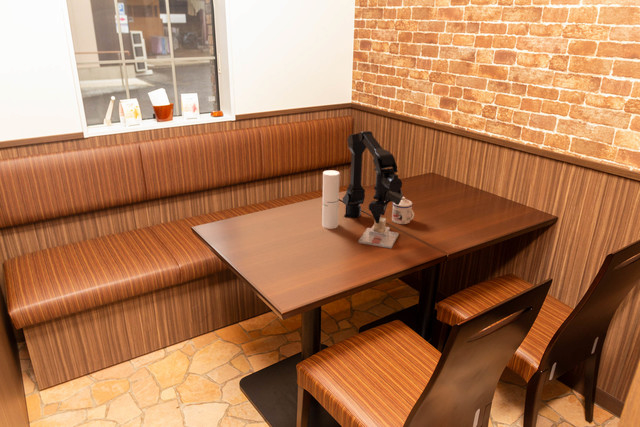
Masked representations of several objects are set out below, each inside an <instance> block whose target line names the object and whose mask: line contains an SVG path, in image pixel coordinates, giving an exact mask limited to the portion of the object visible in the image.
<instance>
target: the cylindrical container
mask: <svg viewBox="0 0 640 427" xmlns="http://www.w3.org/2000/svg"><path fill="white" fill-rule="evenodd" d="M340 175H341V174H340V172H339V171H337V170H335V169H334V170H331V169H330V170H329V169H328V170H324V171H323V172H322V209H321V210H322V211H321V212H322V213H321V215H322V216H321V217H322V218H321V219H322V220H321V225H322V227H323V228H324V229H328V230H329V229H330V230H332V229H336V228H338V226H339V204H340V202H339V201H340V198H339V196H340Z"/></svg>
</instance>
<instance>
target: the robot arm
mask: <svg viewBox="0 0 640 427" xmlns="http://www.w3.org/2000/svg"><path fill="white" fill-rule="evenodd" d="M346 142H347V147H348V149H349V151H350V153H351V158H350V159H351V161H350V183H349V185H348V186H347V188H346V192H345V195H344V196H343V197H342V203H343V204H344V205H345V214H344V217H345V218H351V219H358V218H359V217H360V216H361V214H362V206H361V205H363V204H364V201H365V198H366V194H365V193H366V190H365V188H364V187H363V186H362V172H363V169H362V167H363V154H364V152H365V150H366V149H367V150H368V151H369V153H370V154H371V156H372V158H373V160H372V162H373V165H374V167H375V168H374V169H373V170H374V171H375V172H376V175H375V186H374V188H373V190H374V196H373V200H372V201H370V202H369V204H368V210H369V211H370V213H371V214H372V217H373V220H375V222H376V223H379V221H380V217H381V216H385V214H386V210H387V208H388V204H390V203H392V204H393V203H395V204H396V205H399V203H400V201H401V199H402V198H403V197H404V194H403V191H402V190H403V189H402V187H403V181H402V180H401V178H399V174H397V173H398V171H399V170H398V168H399V167H398V165H397V163H396V158H395V156H394V155H393V154H392V153H391V151H389V150H386V149H384V148H383V147H382V146H381V144H380V143H379V142H378V140H377V139H376V138H375V136H374V135H373V132H372V131H370V130H366V131H365V130H363V131H360V132H358V133H352V134H351V133H350V134H349V135H348V137H347V140H346ZM381 218H382V217H381Z"/></svg>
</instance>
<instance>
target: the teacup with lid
mask: <svg viewBox="0 0 640 427" xmlns="http://www.w3.org/2000/svg"><path fill="white" fill-rule="evenodd" d="M412 208H413V201H411V200H410V199H408V198H407V199H406V197H405V196H403V198H402V199H401V201H400V203H399V205H396V204H395V203H393V202H392V211H391V221H392V222H393V223H394V224H399V225H406V224H407V225H408V224H409V223H410V222H411V220H413V219H414V217H415V212H414V210H413V209H412Z"/></svg>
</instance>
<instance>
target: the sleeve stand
mask: <svg viewBox="0 0 640 427" xmlns="http://www.w3.org/2000/svg"><path fill="white" fill-rule="evenodd" d="M398 237H399V232H396V231H391V230H390V226H385V231H384V232H379V231H374V224H373V225H372V226H371V227H367V228H366V229H365V231H364V232H363V234H362V235H361V236H360V237H359V239H358V243H359V244H363V245H370V246H373V247H374V246H375V247H378V248H379V247H380V248H386V249H392V248H393V246H394V244H395V242H396V240H397V239H398Z"/></svg>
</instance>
